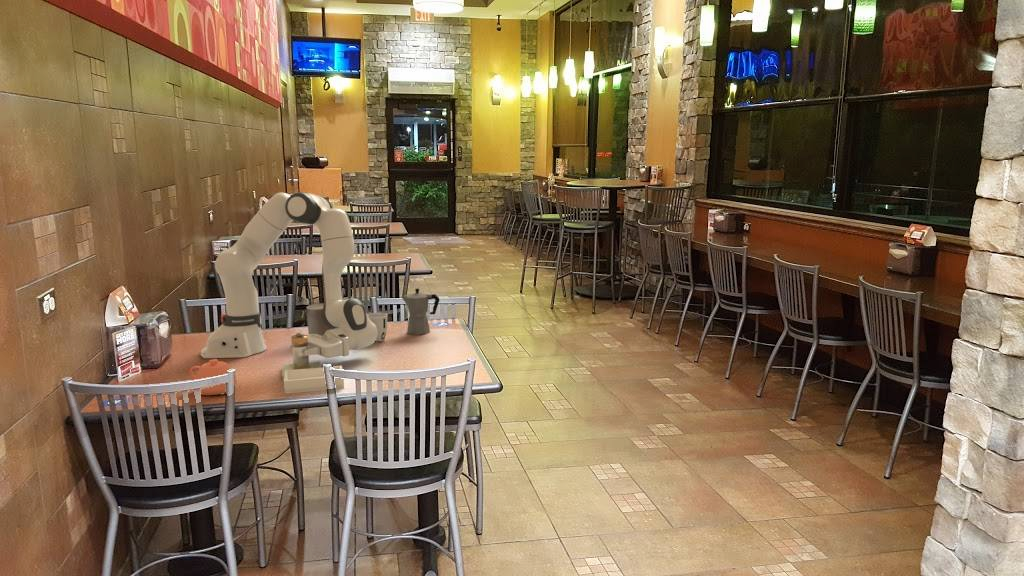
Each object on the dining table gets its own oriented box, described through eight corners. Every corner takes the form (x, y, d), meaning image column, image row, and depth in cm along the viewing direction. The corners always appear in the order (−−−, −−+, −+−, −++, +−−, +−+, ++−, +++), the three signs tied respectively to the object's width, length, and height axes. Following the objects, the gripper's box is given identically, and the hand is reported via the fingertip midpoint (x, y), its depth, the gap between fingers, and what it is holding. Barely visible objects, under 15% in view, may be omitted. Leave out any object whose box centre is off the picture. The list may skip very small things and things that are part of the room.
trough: (284, 393, 212) (283, 381, 211) (285, 382, 222) (285, 370, 221) (344, 388, 217) (343, 375, 216) (342, 377, 227) (341, 365, 226)
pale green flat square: (282, 380, 224) (281, 375, 224) (283, 368, 236) (283, 364, 235) (320, 376, 228) (320, 372, 227) (320, 365, 239) (319, 361, 239)
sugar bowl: (230, 398, 209) (227, 365, 207) (182, 399, 208) (178, 366, 206) (242, 384, 221) (240, 353, 219) (197, 385, 220) (194, 354, 218)
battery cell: (293, 371, 228) (290, 336, 226) (293, 366, 233) (291, 332, 231) (309, 370, 230) (307, 334, 227) (309, 365, 234) (307, 331, 232)
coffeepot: (400, 335, 277) (398, 290, 274) (404, 329, 287) (403, 286, 283) (438, 335, 277) (437, 291, 273) (441, 329, 286) (440, 286, 282)
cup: (386, 343, 266) (385, 317, 264) (365, 343, 266) (363, 317, 264) (390, 337, 274) (389, 312, 272) (369, 337, 274) (368, 312, 272)
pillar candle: (337, 337, 275) (335, 299, 272) (330, 343, 265) (328, 305, 262) (313, 337, 275) (310, 300, 272) (305, 344, 266) (302, 305, 263)
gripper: (317, 327, 246) (281, 335, 236) (350, 338, 232) (313, 346, 222) (319, 344, 247) (282, 353, 237) (351, 356, 233) (314, 365, 223)
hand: (297, 350), depth 229 cm, fingers open, 7 cm apart
